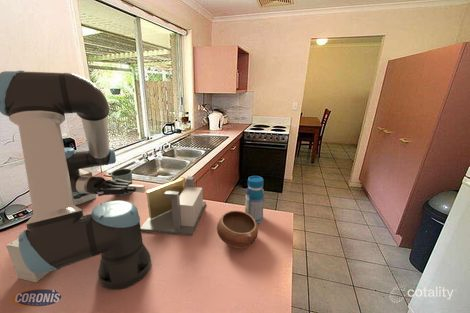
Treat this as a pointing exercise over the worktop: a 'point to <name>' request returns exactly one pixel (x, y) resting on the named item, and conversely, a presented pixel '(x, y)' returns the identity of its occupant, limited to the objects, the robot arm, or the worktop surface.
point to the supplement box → (21, 263)
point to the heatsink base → (167, 224)
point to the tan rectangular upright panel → (157, 199)
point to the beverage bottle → (255, 198)
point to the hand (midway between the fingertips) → (144, 189)
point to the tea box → (83, 197)
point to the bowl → (237, 229)
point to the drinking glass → (122, 176)
